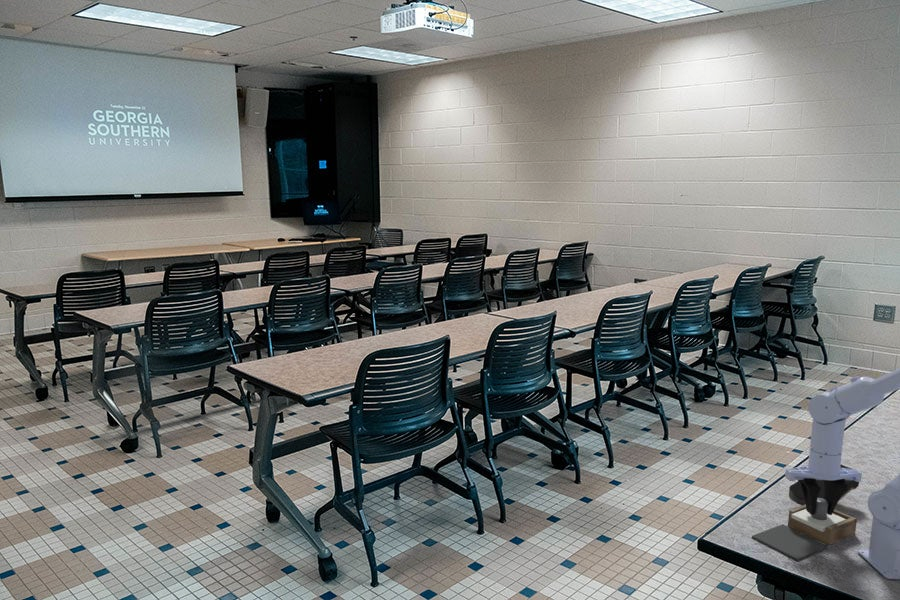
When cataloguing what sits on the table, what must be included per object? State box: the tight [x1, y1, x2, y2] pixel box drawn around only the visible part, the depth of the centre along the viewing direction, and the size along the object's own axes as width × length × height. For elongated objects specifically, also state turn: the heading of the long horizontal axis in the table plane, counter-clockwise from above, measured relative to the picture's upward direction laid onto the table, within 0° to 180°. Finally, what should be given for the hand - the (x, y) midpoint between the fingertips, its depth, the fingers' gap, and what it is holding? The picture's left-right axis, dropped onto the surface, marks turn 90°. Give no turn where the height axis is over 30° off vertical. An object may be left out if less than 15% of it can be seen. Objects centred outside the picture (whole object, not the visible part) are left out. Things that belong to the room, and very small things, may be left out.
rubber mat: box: [751, 523, 830, 562], centre depth 138 cm, size 10×10×1 cm
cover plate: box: [791, 498, 846, 532], centre depth 141 cm, size 8×7×4 cm
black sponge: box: [788, 464, 860, 506], centre depth 153 cm, size 16×8×4 cm, turn 123°
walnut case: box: [787, 504, 858, 546], centre depth 143 cm, size 9×9×4 cm
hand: (819, 512), depth 141 cm, fingers closed on cover plate, 3 cm apart
